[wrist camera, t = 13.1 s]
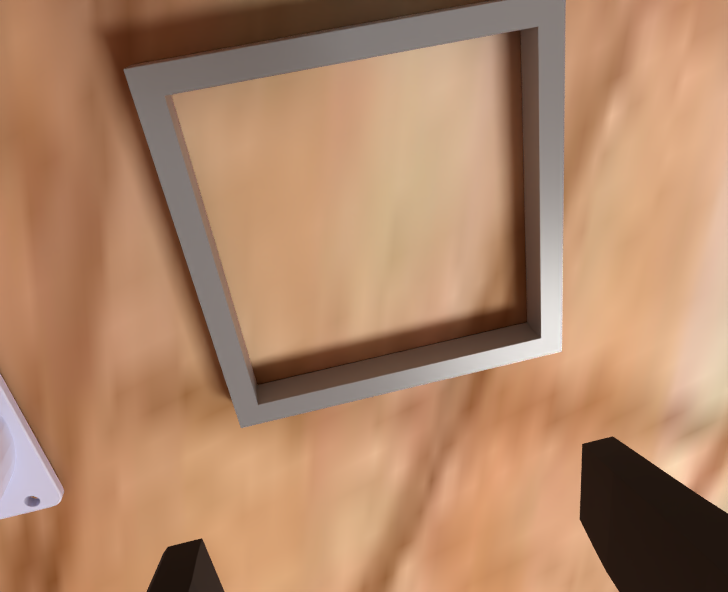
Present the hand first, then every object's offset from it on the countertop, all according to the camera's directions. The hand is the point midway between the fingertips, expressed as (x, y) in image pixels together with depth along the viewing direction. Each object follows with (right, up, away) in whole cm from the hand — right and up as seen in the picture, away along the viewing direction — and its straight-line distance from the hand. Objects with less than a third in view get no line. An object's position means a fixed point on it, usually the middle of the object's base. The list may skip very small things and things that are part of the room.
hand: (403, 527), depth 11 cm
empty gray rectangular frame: (0, +7, +8) cm, 11 cm away
